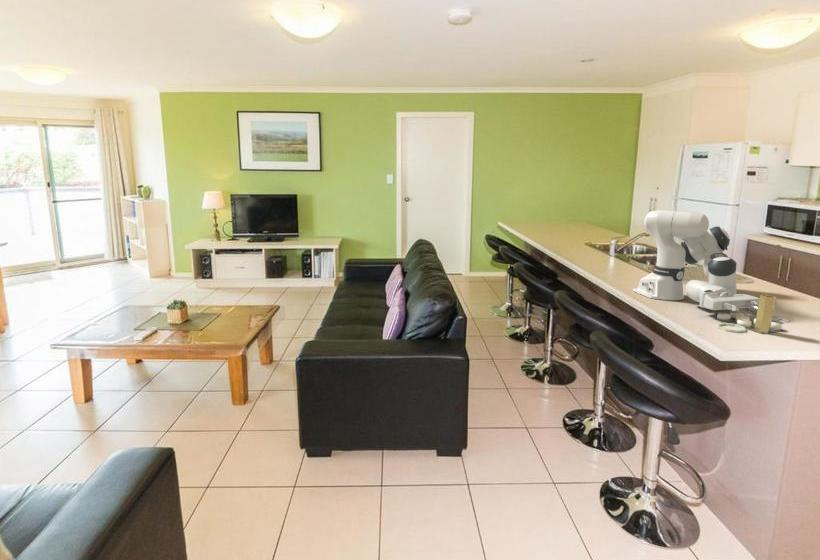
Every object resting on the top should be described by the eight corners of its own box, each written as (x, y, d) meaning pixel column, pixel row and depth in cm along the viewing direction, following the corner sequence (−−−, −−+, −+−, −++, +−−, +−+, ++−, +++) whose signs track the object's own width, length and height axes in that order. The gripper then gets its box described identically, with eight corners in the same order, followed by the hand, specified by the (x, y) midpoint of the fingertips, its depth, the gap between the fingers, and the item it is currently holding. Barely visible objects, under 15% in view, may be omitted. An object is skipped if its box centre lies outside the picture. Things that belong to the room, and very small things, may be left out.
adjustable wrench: (736, 307, 211) (737, 303, 210) (752, 308, 210) (753, 304, 210) (774, 326, 187) (775, 321, 186) (792, 326, 186) (793, 322, 186)
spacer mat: (711, 320, 192) (712, 313, 192) (734, 316, 196) (735, 310, 196) (762, 336, 174) (763, 329, 173) (786, 332, 178) (787, 325, 177)
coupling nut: (752, 331, 177) (758, 295, 174) (757, 328, 180) (763, 293, 177) (766, 334, 174) (773, 298, 171) (770, 331, 177) (777, 296, 174)
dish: (710, 328, 183) (711, 324, 183) (728, 325, 186) (728, 321, 185) (732, 335, 175) (733, 331, 175) (750, 333, 178) (751, 329, 177)
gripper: (740, 303, 200) (770, 314, 186) (695, 307, 196) (723, 318, 183) (743, 288, 198) (773, 298, 185) (697, 291, 194) (725, 301, 181)
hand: (748, 308), depth 184 cm, fingers open, 8 cm apart
